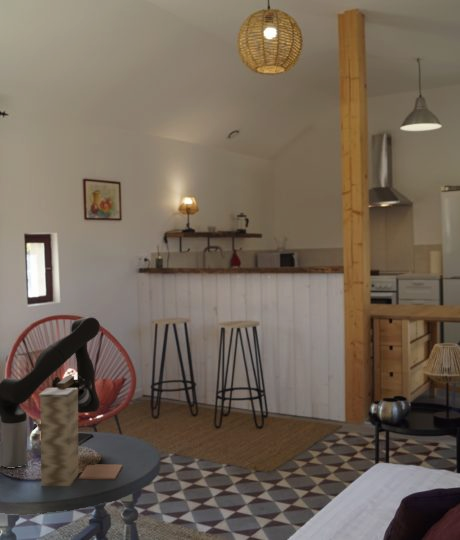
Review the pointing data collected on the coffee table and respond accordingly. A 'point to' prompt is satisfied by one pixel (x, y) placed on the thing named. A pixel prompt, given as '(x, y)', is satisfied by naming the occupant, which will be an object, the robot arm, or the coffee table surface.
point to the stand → (59, 440)
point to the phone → (83, 437)
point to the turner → (60, 389)
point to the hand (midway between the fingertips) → (67, 379)
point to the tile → (101, 471)
